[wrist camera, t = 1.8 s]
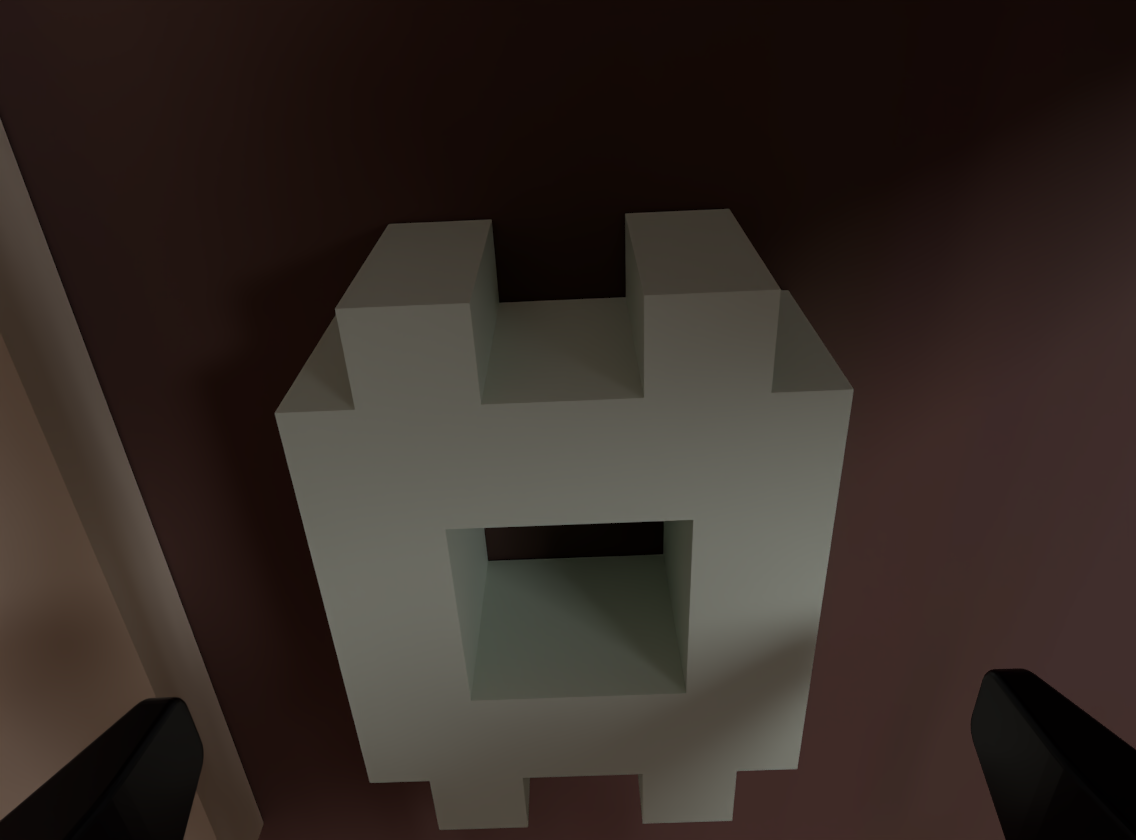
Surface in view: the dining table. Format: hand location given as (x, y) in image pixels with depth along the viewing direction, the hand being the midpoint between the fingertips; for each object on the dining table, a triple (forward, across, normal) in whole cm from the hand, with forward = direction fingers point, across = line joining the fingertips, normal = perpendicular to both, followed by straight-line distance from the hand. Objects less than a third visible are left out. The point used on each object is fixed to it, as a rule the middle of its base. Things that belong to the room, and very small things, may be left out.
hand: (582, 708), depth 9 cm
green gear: (+5, 0, 0) cm, 5 cm away
